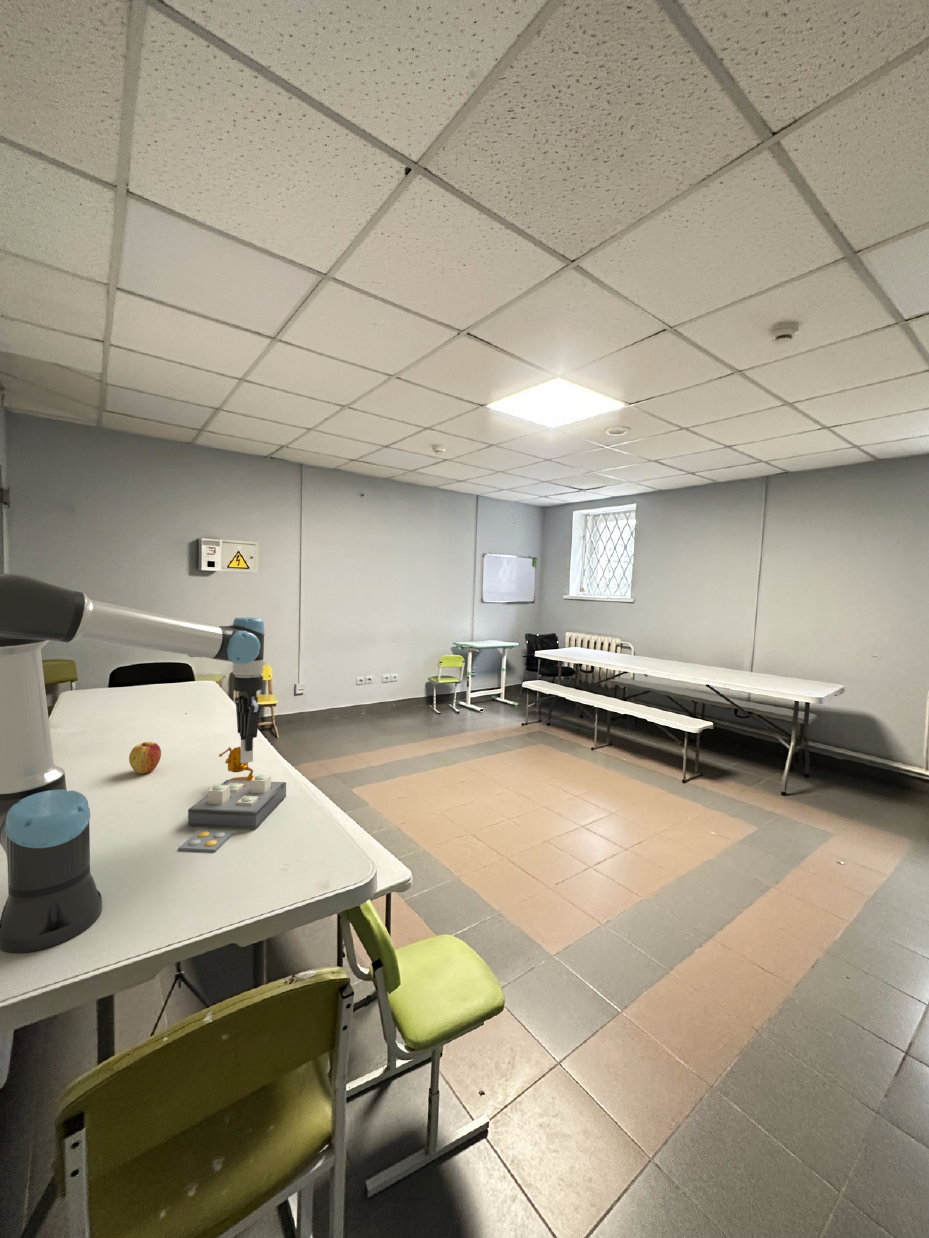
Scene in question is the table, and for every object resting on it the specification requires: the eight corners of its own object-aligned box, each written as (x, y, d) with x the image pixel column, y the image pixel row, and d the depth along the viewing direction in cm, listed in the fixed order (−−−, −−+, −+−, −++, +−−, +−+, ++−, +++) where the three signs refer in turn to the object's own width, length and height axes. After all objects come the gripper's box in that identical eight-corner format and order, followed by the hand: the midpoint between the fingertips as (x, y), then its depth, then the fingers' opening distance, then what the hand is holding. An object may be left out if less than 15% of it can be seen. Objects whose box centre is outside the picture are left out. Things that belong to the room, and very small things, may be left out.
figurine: (218, 783, 158) (218, 746, 157) (253, 775, 165) (253, 740, 164) (225, 792, 152) (225, 753, 151) (261, 784, 158) (262, 747, 158)
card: (215, 851, 118) (215, 848, 118) (178, 850, 119) (178, 846, 119) (234, 833, 127) (234, 830, 127) (199, 831, 128) (199, 828, 128)
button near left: (222, 806, 134) (222, 790, 134) (207, 805, 134) (207, 789, 134) (229, 799, 138) (229, 784, 138) (215, 799, 138) (215, 783, 138)
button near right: (251, 817, 134) (251, 801, 133) (237, 816, 134) (237, 801, 134) (258, 810, 138) (258, 795, 137) (244, 810, 138) (244, 794, 138)
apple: (158, 775, 163) (157, 745, 162) (125, 778, 160) (125, 748, 159) (163, 765, 171) (163, 737, 171) (132, 768, 168) (132, 739, 167)
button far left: (237, 803, 142) (237, 788, 142) (223, 802, 142) (223, 787, 142) (243, 797, 146) (243, 782, 146) (230, 796, 146) (230, 782, 146)
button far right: (264, 794, 142) (264, 779, 141) (250, 794, 142) (250, 779, 141) (270, 789, 146) (270, 774, 145) (257, 788, 146) (257, 774, 145)
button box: (255, 829, 130) (255, 812, 129) (188, 826, 130) (188, 809, 130) (286, 796, 150) (286, 782, 149) (227, 794, 150) (227, 779, 150)
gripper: (271, 677, 131) (270, 765, 132) (253, 670, 141) (251, 752, 142) (242, 680, 126) (240, 771, 127) (225, 672, 135) (223, 757, 137)
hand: (246, 761), depth 135 cm, fingers closed
